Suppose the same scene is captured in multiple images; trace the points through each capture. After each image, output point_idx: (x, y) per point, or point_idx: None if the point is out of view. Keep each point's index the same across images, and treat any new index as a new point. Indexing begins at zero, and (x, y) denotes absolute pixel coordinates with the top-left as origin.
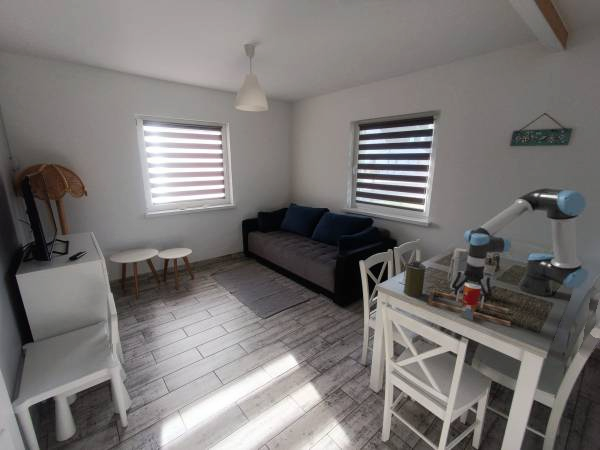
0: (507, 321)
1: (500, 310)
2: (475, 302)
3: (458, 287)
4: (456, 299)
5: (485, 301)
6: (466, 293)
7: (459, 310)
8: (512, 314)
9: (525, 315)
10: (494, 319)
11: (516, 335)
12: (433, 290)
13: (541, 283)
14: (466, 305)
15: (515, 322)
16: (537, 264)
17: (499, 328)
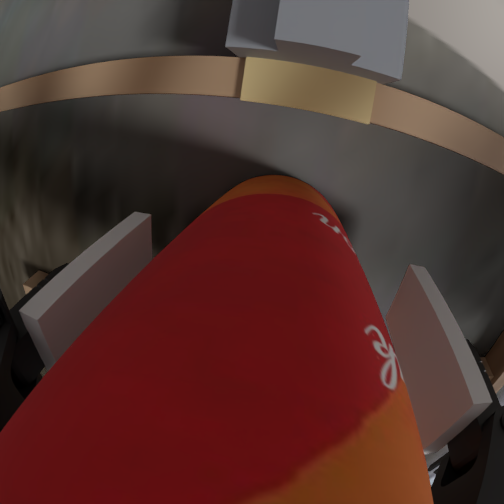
0: (4, 100)
1: None
2: (185, 228)
3: (500, 462)
4: (434, 285)
5: (59, 271)
6: (387, 359)
7: (403, 93)
8: (27, 274)
9: (4, 285)
10: (63, 70)
11: (17, 10)
12: (498, 385)
13: None
14: (363, 21)
15: (3, 177)
16: None
17: (69, 9)
